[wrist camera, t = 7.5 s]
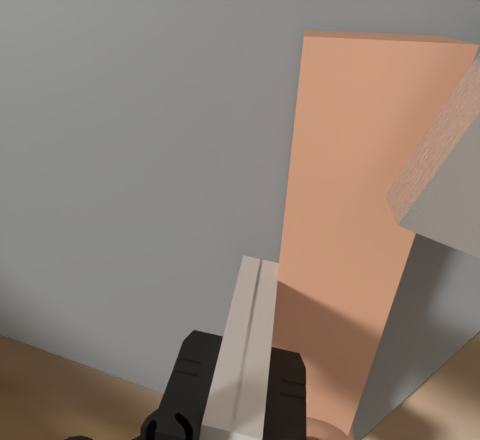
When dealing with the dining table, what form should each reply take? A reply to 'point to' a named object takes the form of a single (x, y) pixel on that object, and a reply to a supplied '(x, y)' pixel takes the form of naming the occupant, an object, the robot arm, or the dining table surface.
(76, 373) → the dining table surface
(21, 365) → the dining table surface
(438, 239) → the block
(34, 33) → the base board
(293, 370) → the robot arm
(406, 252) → the link
